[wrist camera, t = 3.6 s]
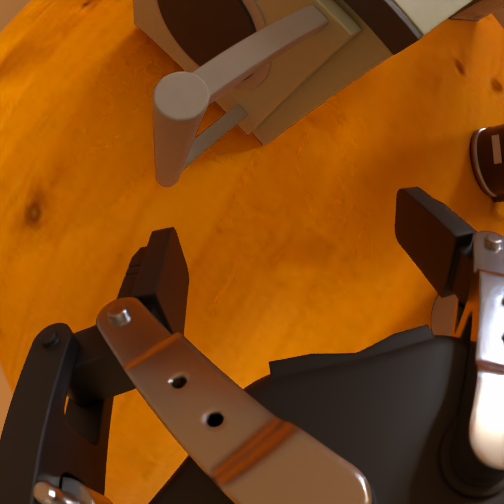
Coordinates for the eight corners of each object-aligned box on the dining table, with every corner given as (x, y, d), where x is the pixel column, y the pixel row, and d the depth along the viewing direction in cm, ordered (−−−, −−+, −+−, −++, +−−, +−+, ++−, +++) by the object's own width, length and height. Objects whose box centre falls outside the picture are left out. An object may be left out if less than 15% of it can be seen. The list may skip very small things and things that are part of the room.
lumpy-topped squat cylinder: (477, 351, 35) (524, 367, 27) (421, 355, 32) (477, 379, 23) (493, 278, 35) (542, 285, 27) (440, 265, 32) (502, 272, 23)
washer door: (254, 129, 23) (363, 29, 10) (173, 202, 22) (195, 150, 8) (141, 18, 20) (149, -119, 6) (60, 77, 19) (-2, -46, 5)
